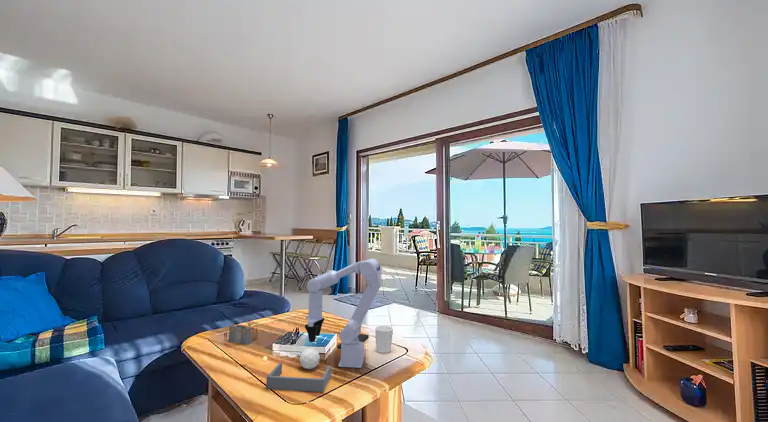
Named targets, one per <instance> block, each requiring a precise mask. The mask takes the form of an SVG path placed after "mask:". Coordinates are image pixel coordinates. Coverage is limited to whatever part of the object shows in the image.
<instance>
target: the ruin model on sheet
mask: <svg viewBox="0 0 768 422" xmlns="http://www.w3.org/2000/svg"><path fill="white" fill-rule="evenodd" d="M253 324H254V322H251V323H250V321H249V322H248V323H247V326H245V325H239V324H237V325H236V326H235V324H230V325H229V335H228V342H230V343H231V342H232V343H235V344H236V343H237V344H242V345H247V346H248V345H251V344H253Z"/></svg>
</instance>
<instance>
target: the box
mask: <svg viewBox="0 0 768 422" xmlns="http://www.w3.org/2000/svg"><path fill="white" fill-rule="evenodd" d="M282 368H283V362H278V364H277V365H276V366H275V367H274V368H273V369H272V370H271V371H270V372H269V374H267V375H266V383H265V384H266V385H265V386H266V388H265V389H267V390H280V391H281V390H284V391H295V392H297V391H298V392H314V393H316V392H317V393H325V389H326V387H327V385H328V383H329V381H330V379H331V377H332V365H331V364H328V366H327V368H326V369H325V371H324V373H323V375H322V377H321V378H315V377H301V376H300V377H298V376H297V377H295V376H282V374H283V373H282V372H283V369H282Z"/></svg>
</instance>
